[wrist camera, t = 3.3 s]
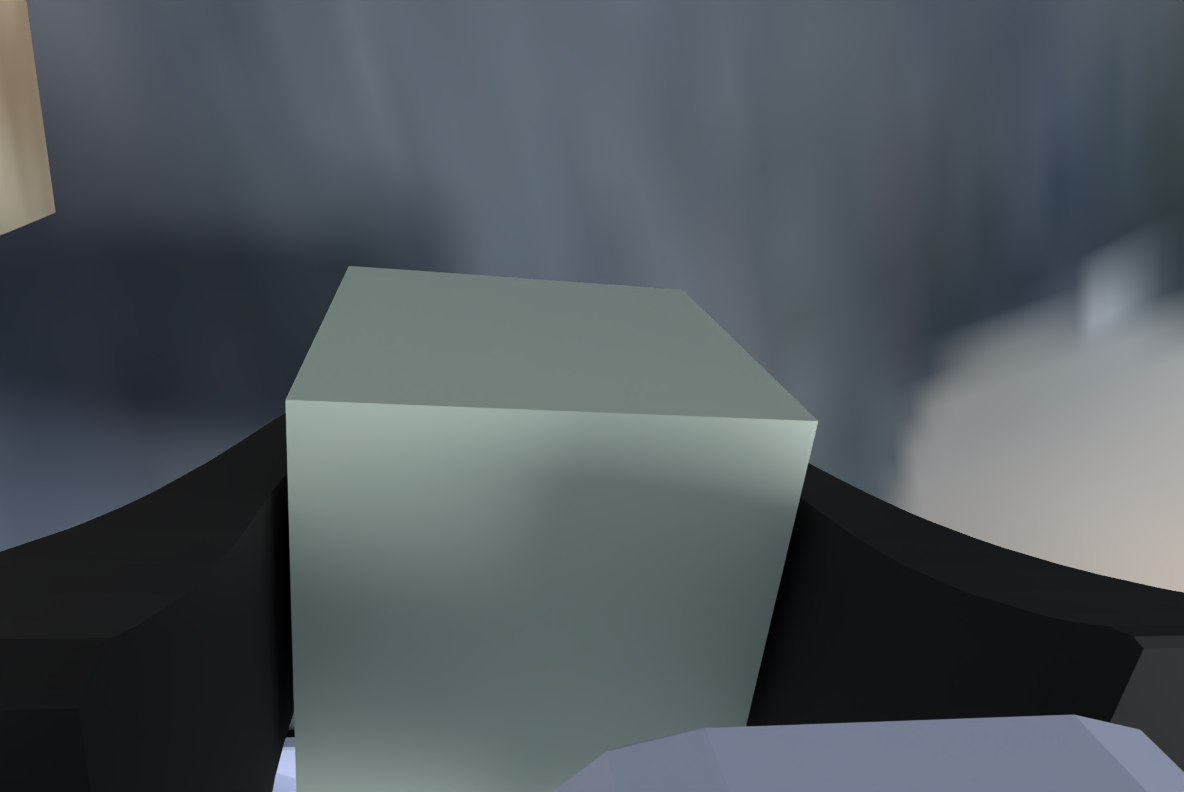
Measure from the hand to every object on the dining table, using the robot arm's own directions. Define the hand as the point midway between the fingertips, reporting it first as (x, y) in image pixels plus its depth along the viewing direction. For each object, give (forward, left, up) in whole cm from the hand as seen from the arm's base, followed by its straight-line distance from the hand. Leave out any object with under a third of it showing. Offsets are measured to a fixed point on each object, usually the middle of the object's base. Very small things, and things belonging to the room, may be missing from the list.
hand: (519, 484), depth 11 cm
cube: (0, 0, -2) cm, 2 cm away
